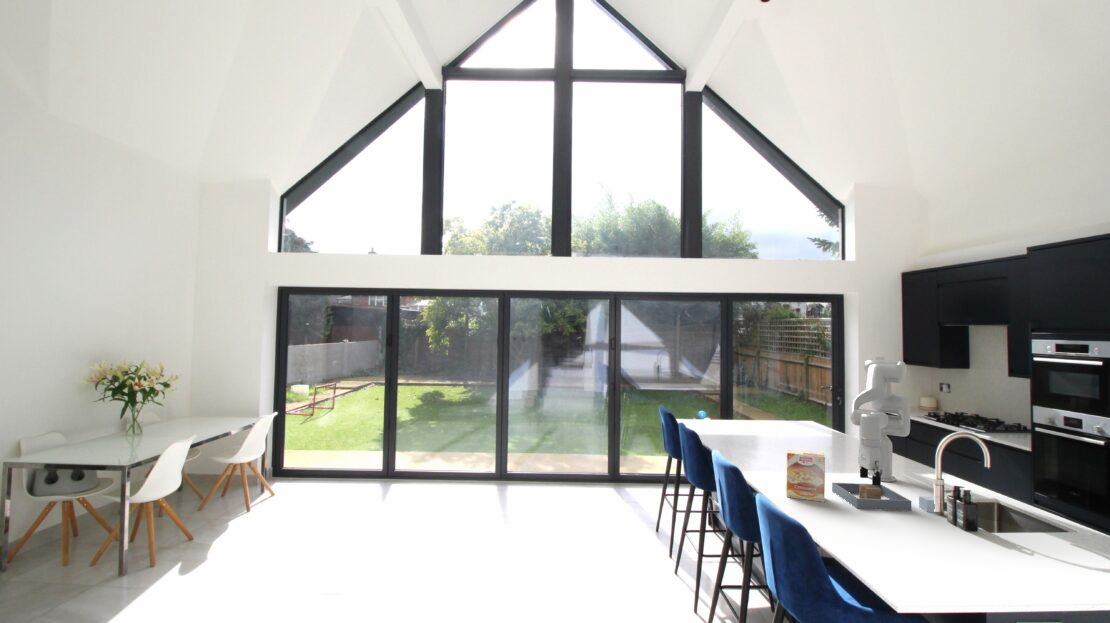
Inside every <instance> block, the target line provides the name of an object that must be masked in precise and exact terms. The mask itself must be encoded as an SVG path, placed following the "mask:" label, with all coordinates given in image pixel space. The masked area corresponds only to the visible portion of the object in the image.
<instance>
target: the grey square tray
mask: <svg viewBox="0 0 1110 623" xmlns="http://www.w3.org/2000/svg"><path fill="white" fill-rule="evenodd" d="M859 484H860V483H857V482H856V483H854V482H853V483H851V482H832V484H831V491H833V492H832V493H834V494H835V493H836V494H835V495H836V496H838V495H839V496H838V497H840V498H841V497H842V498H843V500H844V499H845V500H846V501H845V500H844V501H845V502H847V503H848V502H849V505H851V504H852V505H851V506H853V507H854V508H855V509H858V510H859V509H861V510H879V509H881V510H880V511H903V510H906V511H908V512H911V511H912V500H911V499H908V498H907V497H905V496H903V495H901V494H899V493H897V492H896V491H894V490H892V489H891V488H889V487H887V486H885V485H883V484H881V485H880V486H876V485H874V486H876V487H878V488H880V489H881V496H883V497H884V498H887V499H883V498H881V499H863V498H859V497H857V496H856V495H854V494H859ZM861 484H862V485H872V483H861ZM849 492H855V493H854V494H853V493H849ZM842 498H841V499H842ZM888 498H889V499H888ZM906 511H905V512H906Z"/></svg>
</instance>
